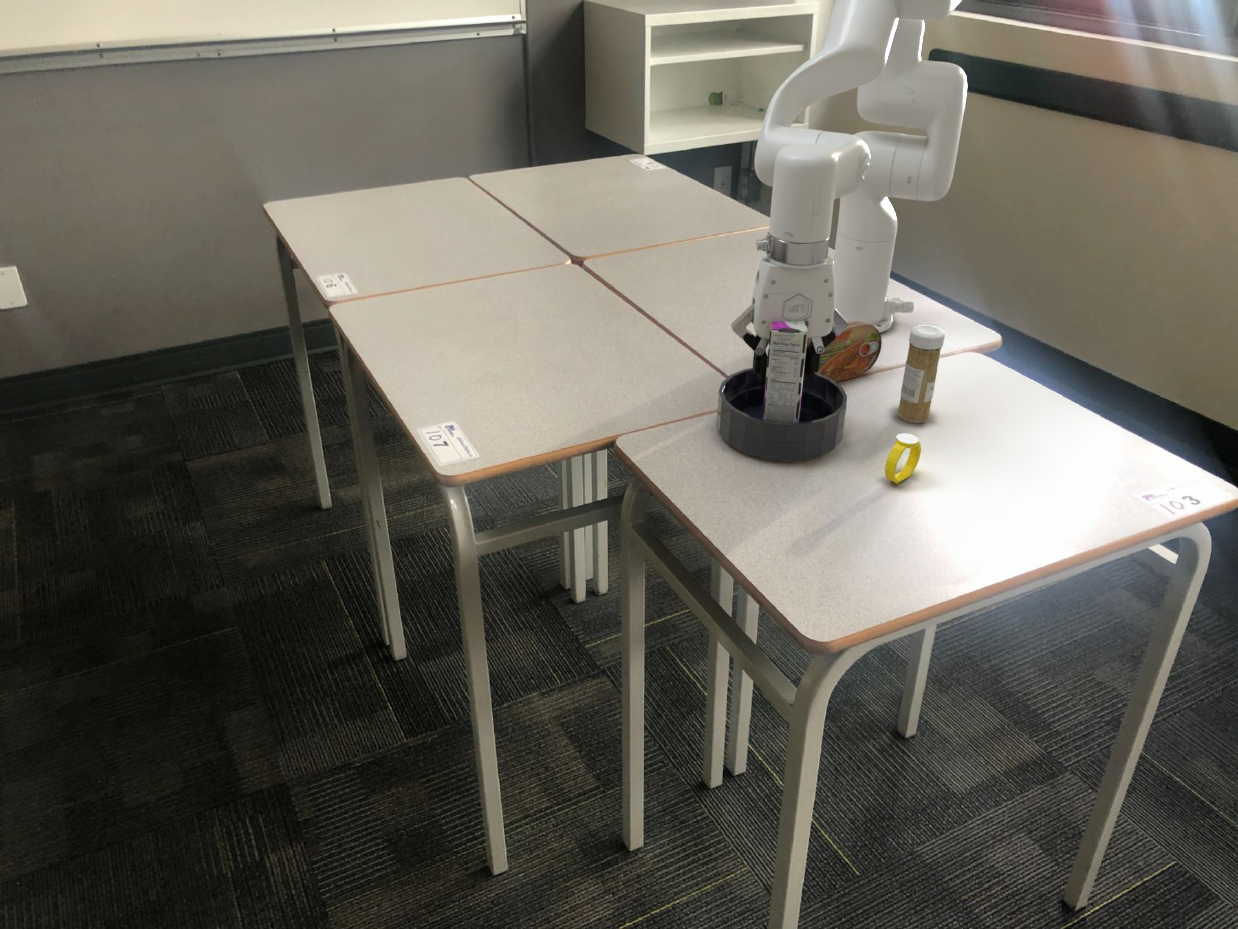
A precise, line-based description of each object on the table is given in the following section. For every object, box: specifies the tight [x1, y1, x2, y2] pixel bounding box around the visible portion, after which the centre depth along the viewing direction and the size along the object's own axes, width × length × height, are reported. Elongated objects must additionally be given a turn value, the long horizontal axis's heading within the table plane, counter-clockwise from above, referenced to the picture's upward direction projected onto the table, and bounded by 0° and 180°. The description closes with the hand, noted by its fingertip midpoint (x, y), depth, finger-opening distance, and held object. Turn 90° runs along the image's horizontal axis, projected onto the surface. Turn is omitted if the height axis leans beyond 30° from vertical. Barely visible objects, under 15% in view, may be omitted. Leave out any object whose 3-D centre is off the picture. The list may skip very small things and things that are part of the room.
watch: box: [884, 432, 922, 484], centre depth 126 cm, size 6×3×6 cm, turn 133°
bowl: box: [716, 367, 848, 462], centre depth 136 cm, size 17×17×6 cm
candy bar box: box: [763, 321, 808, 423], centre depth 133 cm, size 11×5×16 cm, turn 169°
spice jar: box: [896, 324, 946, 424], centre depth 138 cm, size 5×5×13 cm
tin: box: [807, 321, 883, 383], centre depth 150 cm, size 15×3×8 cm, turn 117°
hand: (784, 376), depth 134 cm, fingers closed on candy bar box, 5 cm apart
